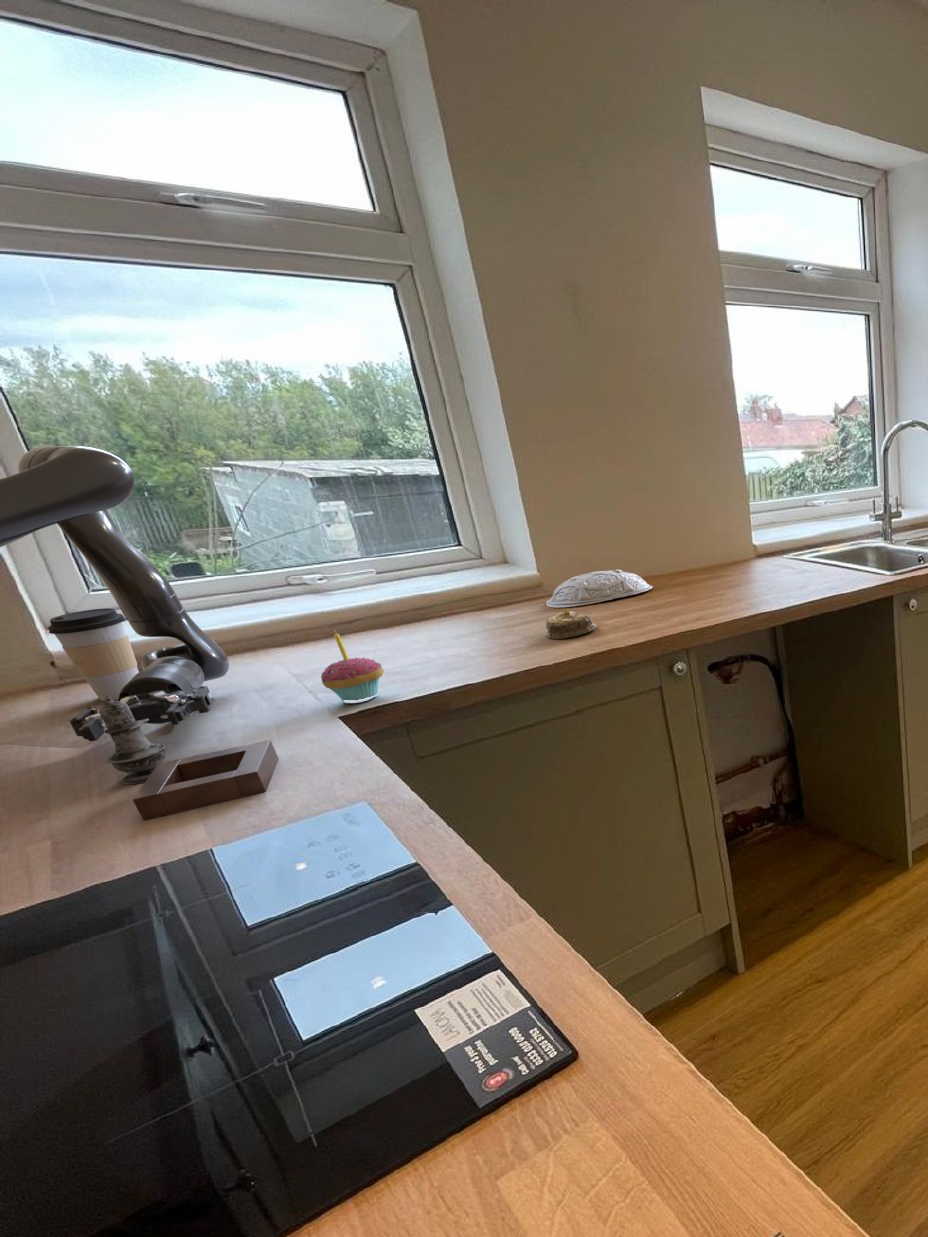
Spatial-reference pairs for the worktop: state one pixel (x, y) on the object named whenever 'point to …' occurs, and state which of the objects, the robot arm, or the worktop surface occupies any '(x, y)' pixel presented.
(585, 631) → the cake
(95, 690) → the coffee cup
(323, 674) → the cupcake
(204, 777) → the brown rectangular frame
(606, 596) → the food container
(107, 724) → the grey stone finial
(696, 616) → the worktop surface
